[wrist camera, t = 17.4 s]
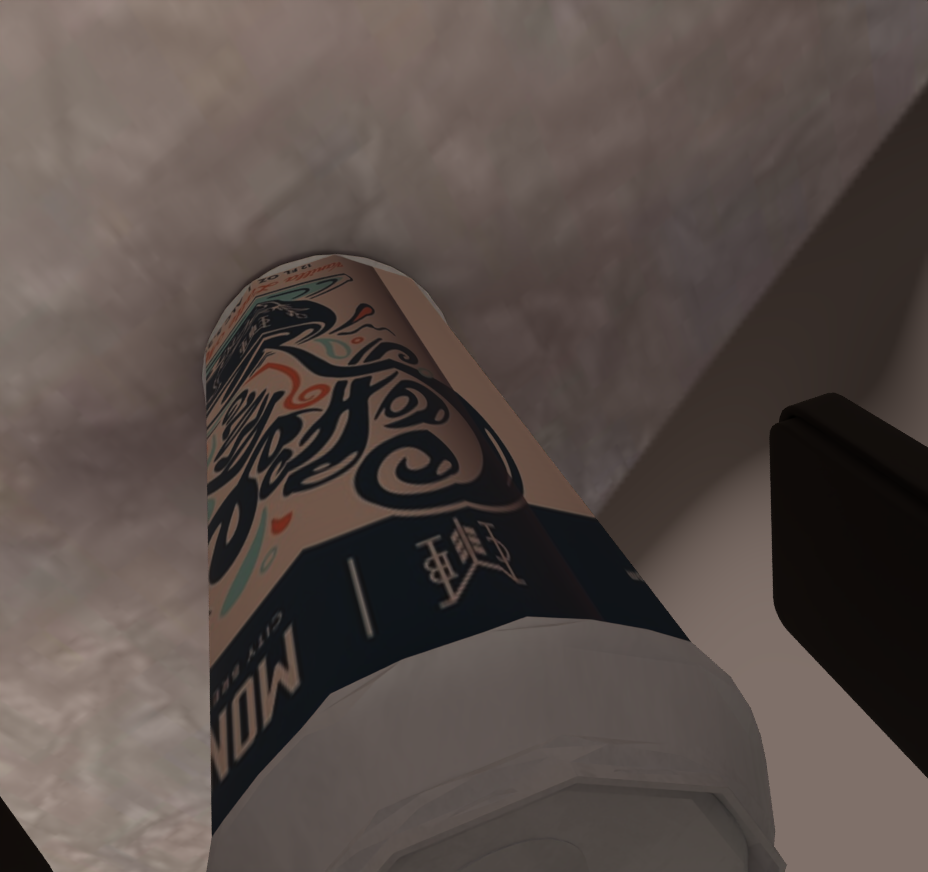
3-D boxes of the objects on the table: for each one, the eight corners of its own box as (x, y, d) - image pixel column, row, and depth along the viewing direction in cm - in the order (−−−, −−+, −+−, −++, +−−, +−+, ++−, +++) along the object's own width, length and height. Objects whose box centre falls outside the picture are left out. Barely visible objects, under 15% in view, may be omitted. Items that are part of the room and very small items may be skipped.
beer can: (299, 192, 15) (517, 610, 5) (497, 337, 17) (939, 835, 7) (151, 404, 16) (59, 1141, 6) (356, 515, 18) (563, 1188, 8)
